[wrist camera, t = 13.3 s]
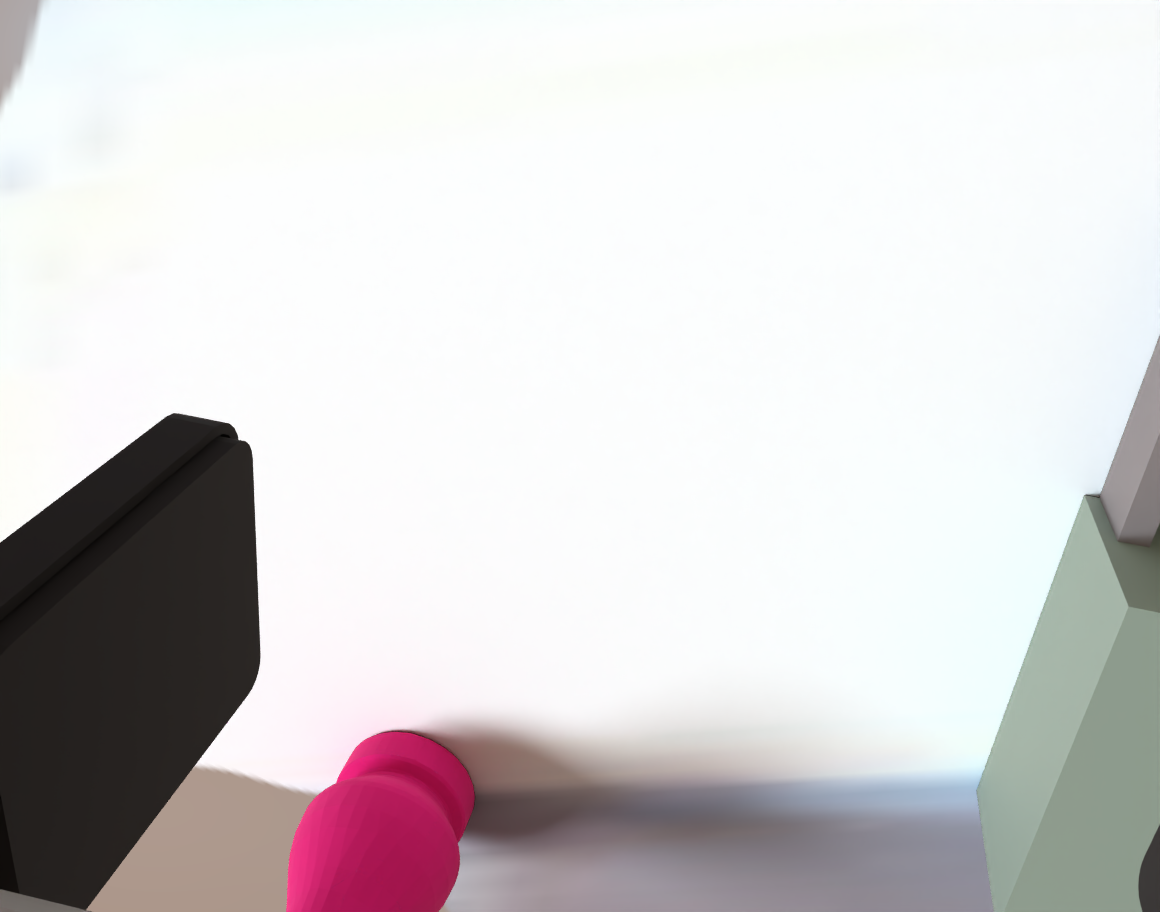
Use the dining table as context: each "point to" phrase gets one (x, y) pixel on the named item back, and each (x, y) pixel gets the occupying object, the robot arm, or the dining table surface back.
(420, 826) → the pepper mill
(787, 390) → the dining table surface
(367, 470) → the dining table surface
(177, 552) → the robot arm
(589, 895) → the dining table surface
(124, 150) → the dining table surface
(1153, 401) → the green boxy piece
